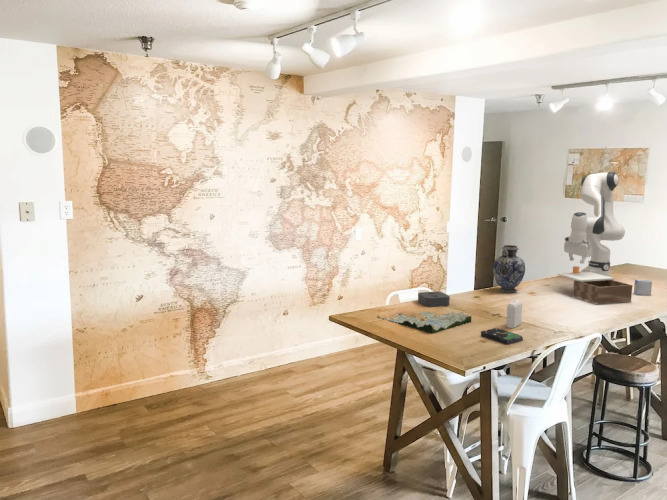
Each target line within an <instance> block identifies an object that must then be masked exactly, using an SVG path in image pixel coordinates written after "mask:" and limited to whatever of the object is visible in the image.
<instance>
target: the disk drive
mask: <svg viewBox="0 0 667 500" xmlns="http://www.w3.org/2000/svg"><path fill="white" fill-rule="evenodd" d="M480 337H483V338H485V339H489V340H491V341H495V342H498V343H501V344H503V345H507V346H508V345H513V344H516V343H519V342H522V341H523V340H524V339H523V336H522V335H520V334H517V333H514V332H512V331H511V332H510V331H507V330H505V329H501V328H497V327H495V328H491V329H486V330H482V331H481V332H480Z"/></svg>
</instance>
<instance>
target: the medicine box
mask: <svg viewBox="0 0 667 500" xmlns="http://www.w3.org/2000/svg"><path fill="white" fill-rule="evenodd" d="M652 285H653V281H652V280H649V279H634V286H633V287H634V289H633V294H634V295H635V296H651V295H652Z"/></svg>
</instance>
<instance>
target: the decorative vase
mask: <svg viewBox="0 0 667 500" xmlns="http://www.w3.org/2000/svg"><path fill="white" fill-rule="evenodd" d="M501 249H502V252H501V255H500V256H498V257H497V258H495V259H494V261H493V266H492V271H493V276H494V279H495V283H496V285H498V286H500V288H498V292H501V293H507V294H516V293H517V289H516V288H517V287H518V286H519V285H520V284H521V282H522V281H523V279H524V276H525V274H526V273H525V272H526V263H525V261H524V259H522V257H520V256H517V253H518V251H519V250H520V249H519V248H518V246H517V245H515V244H514V245H511V244H506V245H503V246H502V247H501Z"/></svg>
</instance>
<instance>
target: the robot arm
mask: <svg viewBox="0 0 667 500" xmlns="http://www.w3.org/2000/svg"><path fill="white" fill-rule="evenodd" d="M618 184H619V176H618V174H617V173H616V172H614V171H606V172H597V173H591V174H587V175H584V176H583V177H582V178H581V181H580V185H581V189H580V198H581V200H582V201H583V202H584V203H586V204H588V205H590V206H593V214H594V217H588V215H587V213H586V212H582V211H581V212H574V213H573V214H572V217H571V223H570V229H571V232H570V236H565V237H564V244H563V246H564V247H563V250H564V252H565V253H568V257H569V261H571V262H573V261H574V259H575V258H574V256H573V255H575V256H580V257H581V259H580V261H579V263H580V264H581V265H582V264H583V265H584V264H585V261H586V259H587V258H590V260H588V261H587V263H588V265H587V266H585V267H584V268H583V269H581V271H580V272H592V273H596V274H600V275H604V276H608V277H611V269H610V268H611V249H610V248H609V247H607V245H604V244H602V243H601V241H609V242H610V241H612V242H613V241H621V240H622V239H623V238H624V237H625V234H626V233H625V232H626V229H625V228H624V226H623V225H622V224H620V223H619V222H618V221H617V220H616V218H615V215H614V192H613V191H614V190H615V188H617V186H618Z"/></svg>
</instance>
